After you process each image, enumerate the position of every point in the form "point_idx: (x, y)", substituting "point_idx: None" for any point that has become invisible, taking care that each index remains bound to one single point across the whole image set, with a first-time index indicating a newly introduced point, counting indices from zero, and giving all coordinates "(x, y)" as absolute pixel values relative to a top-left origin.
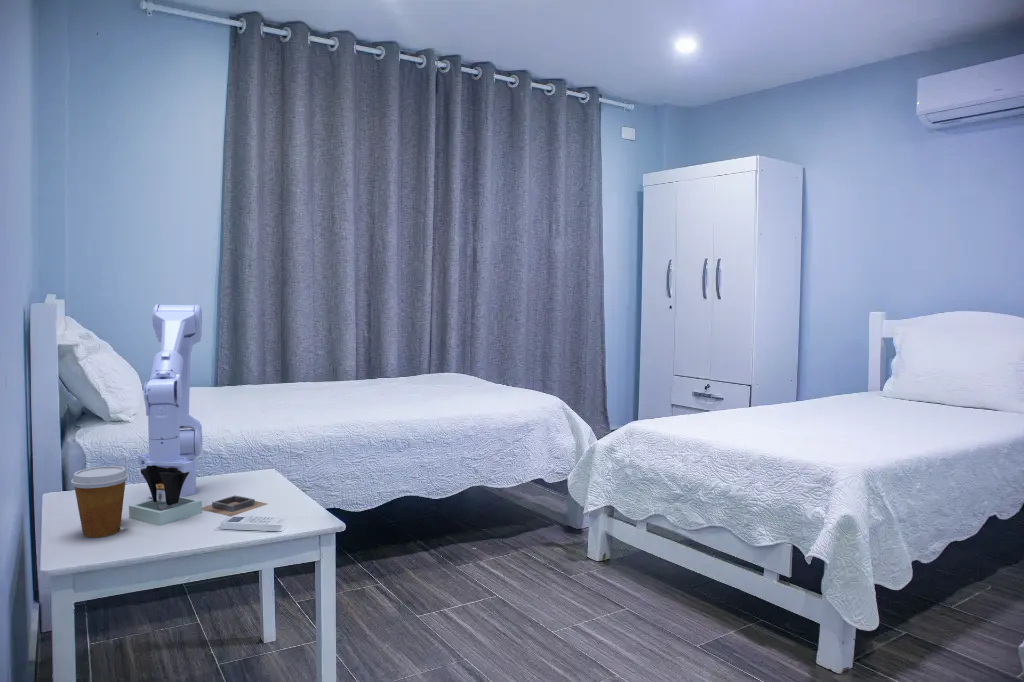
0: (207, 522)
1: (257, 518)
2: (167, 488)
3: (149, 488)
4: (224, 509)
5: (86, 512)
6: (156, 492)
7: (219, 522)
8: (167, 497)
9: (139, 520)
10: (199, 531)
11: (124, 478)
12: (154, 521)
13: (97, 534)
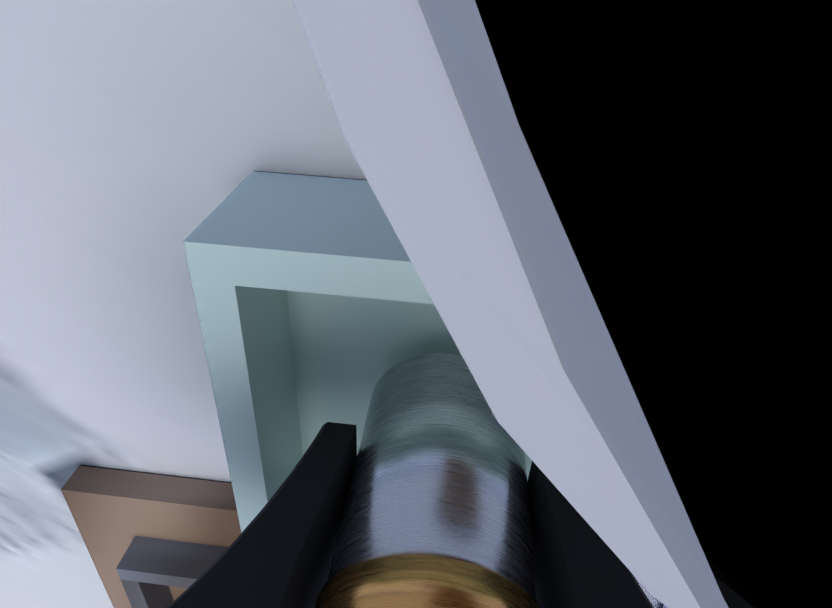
0: (161, 411)
1: (24, 525)
2: (220, 566)
3: (627, 569)
4: (198, 549)
5: None
6: (491, 525)
7: (105, 432)
8: (299, 476)
9: None
10: (8, 274)
11: (392, 220)
12: (307, 203)
13: None
